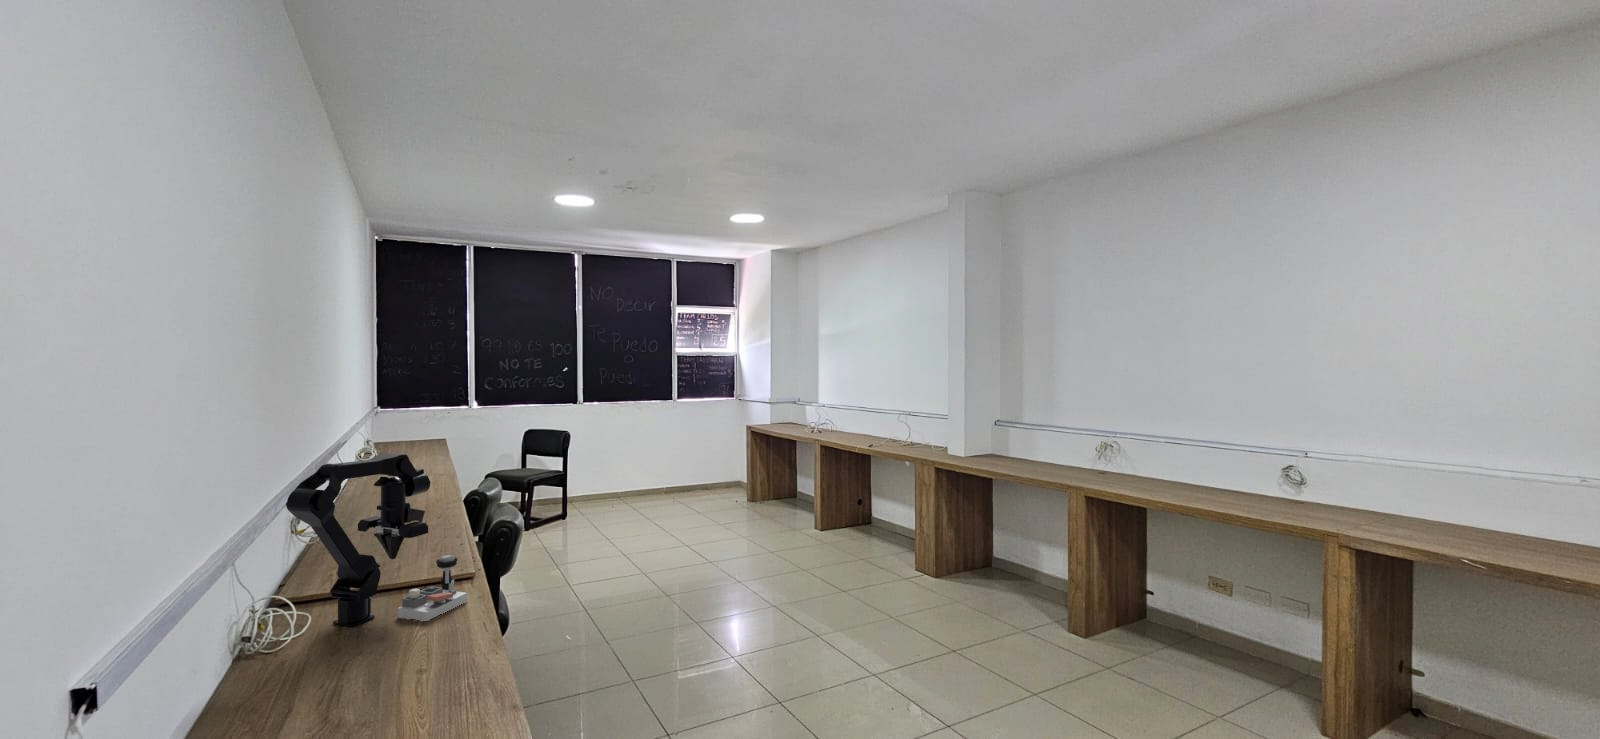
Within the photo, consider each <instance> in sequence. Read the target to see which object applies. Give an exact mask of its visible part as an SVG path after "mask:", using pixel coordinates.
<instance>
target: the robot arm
mask: <svg viewBox="0 0 1600 739" xmlns="http://www.w3.org/2000/svg"><path fill="white" fill-rule="evenodd" d="M377 475H381V476H380V477H379V479H378V480H376V481H375V482H374V484H373V486H374V487H380V504H379V505H376V510H377V511H380V515H379V516H378V515H375V516H371V517H367V518H363V519H362V518H361V520H359V522H358V523H357V531H358V532H368V530H370V529H371V528H374V529H376V532H375V533H373V536H374V537H376V539H377V540H378V541H379V543H380V545H381V546H382V548H383V549H384V551H385V553H386V554H387V556H388V558H389V559H390V560H395V559H397V556H398V553H399V551H400V548H401V546H402V544H403V542H404V539H405V538H406V539H413V538H416V537H419V536H424V535H425V534H428V533H429V524H427V523H426V522H423V520H424V517H425V513H426V510H422V509H417V508H412V507H411V503H410V502H406V500H407V499H406V498H407V497H408V498H409V497H412V496H416V495H420V494H423V493H424V494H425V493H427V491H429V489H430V487H431V480H430V478H429V476H428V475H427V474H426V473H425V469H423V468H415V466H414V465H413V463H412V462H411V460H410V457H409V455H408V454H402V453H391V452H384V453H380V454H377V455H374V456H373V457H371V458H370V459H363V460H354V461H346V462H340V463H339V462H338V463H325V464H323V465H320V467H319V468H318V469H317V470H316V471H315V473H313V474H311V475H310V476H308V477H307V478H306V479H304V480H302V481H300V483H299V484H298V485H297V486H296V487H295V489H294V490H292V492H290V494H289V495H288V498H287V501H286V503H285V507H286V509H287V511H289V513H290V514H292V515H293V516H294V517H295V518H296V519H297V520H300V521H302V522H303V523H305V524H307V525H309V526H310V527H311V529H312V531H314V533H315V535H316V536H317V537H318V538H319V541H321V543H322V544H323V546H324V547H325V549H326V550H327V551H328V553H329V554H330V556H331V557H332V558H333V560H334V562H335V563H336V564H337V571H336V575H337V577H338V578H337V580H336V581H335V582H334V584H333V586H332V587H331V588H330V590H329V593H330V596H331V598H332V599H337V619H336V620H334V621H332V624H333V625H339V626H344V627H351V628H354V627H356V626H358V625H360V624H361V625H362V624H363V623H365V622H367V621H369V620H373V619H375V614H371V613H372V612H371V611H372V606H371V604H372V600H371V599H372V597H374V596H376V594H377V591H378V587H379V583H380V580H381V574H382V573H381V570H380V567H381V564H378V563H377V560H376V558H375V557H374V555H372V554H371V555H370V554H363V553H362V554H361V553H360V552H359V551H358V550H357V548H356V547H355V545H354V544H353V542H352V540H351V539H350V538H349V536H348V534H347V533H346V532H345V530H344V529H343V527H342V526H341V524H340V523H339V521H338V520H337V519H336V516H335V509H336V504H335V502H334V501H335V500H336V498H337V497H338V496H339V495H340V491H341V485H342V483H343V482H344V481H345V480H348V479H356V478H363V477H370V476H371V477H372V476H377ZM382 475H385V476H382ZM327 481H328V484H327V486H326V487H325V489H318V488H319V487H322V486H323V485H324V484H325V483H327ZM358 589H359V590H358Z"/></svg>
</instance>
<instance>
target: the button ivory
mask: <svg viewBox="0 0 1600 739" xmlns="http://www.w3.org/2000/svg"><path fill="white" fill-rule="evenodd" d="M420 591H421V590H420V588H412V589H409V591H408V596H409V599H412V600H415V599H418V598H420Z"/></svg>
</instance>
